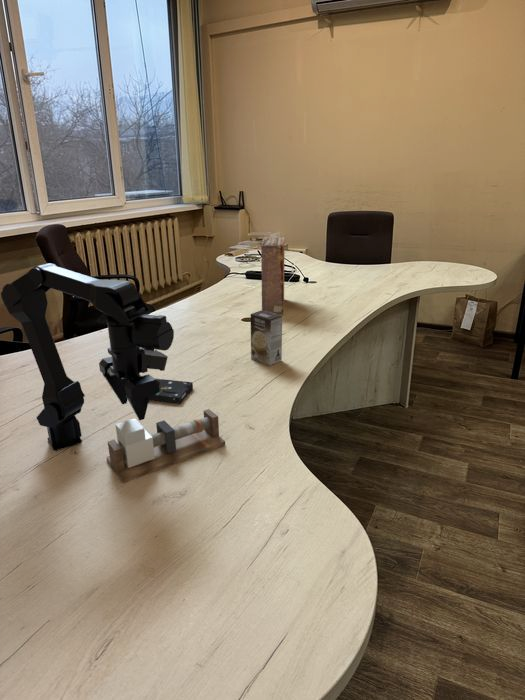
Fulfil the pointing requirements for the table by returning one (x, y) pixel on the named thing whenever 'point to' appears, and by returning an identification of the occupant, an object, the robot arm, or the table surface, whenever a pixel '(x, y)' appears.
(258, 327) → the coffee box
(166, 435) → the dark square collar
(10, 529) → the table surface
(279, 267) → the book
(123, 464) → the pipe rig
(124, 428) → the sleeve
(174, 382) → the disk drive
